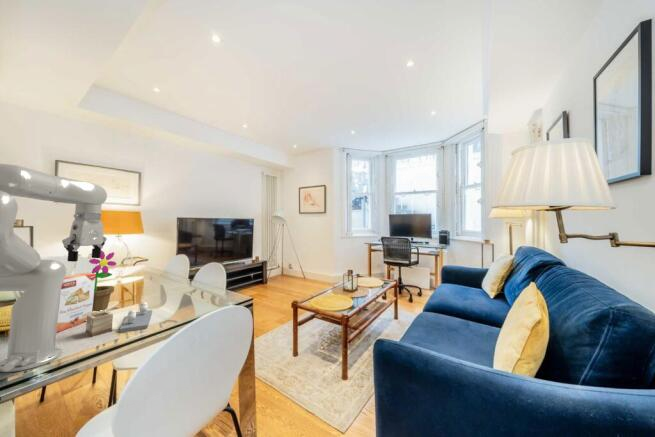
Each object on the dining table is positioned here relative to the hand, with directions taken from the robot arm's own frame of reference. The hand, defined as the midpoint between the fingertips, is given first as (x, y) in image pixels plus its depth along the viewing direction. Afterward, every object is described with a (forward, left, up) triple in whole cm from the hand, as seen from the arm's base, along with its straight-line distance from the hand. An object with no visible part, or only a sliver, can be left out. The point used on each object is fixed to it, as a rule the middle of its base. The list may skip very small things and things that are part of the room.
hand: (84, 259), depth 97 cm
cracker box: (+9, +5, -29) cm, 31 cm away
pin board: (+2, -18, -29) cm, 34 cm away
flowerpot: (+29, +2, -29) cm, 41 cm away
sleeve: (-4, -7, -29) cm, 30 cm away
